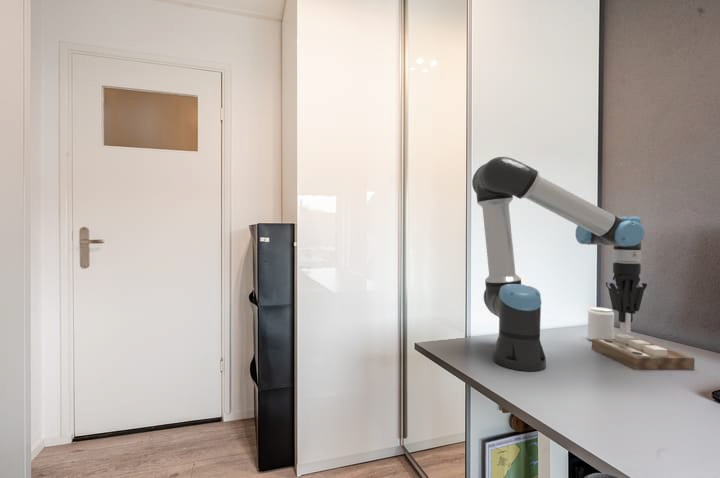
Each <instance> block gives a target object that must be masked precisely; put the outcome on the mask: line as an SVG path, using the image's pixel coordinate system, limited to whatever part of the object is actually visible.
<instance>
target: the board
mask: <svg viewBox="0 0 720 478" xmlns="http://www.w3.org/2000/svg"><path fill="white" fill-rule="evenodd" d="M635 340H642V341H645V342H648V343H651V345H656V346H659V347H661V348H664V349H667V357H654V356H651V355H649V354H646V353H644V352H643V350H637V349H634V348H632V347H629V346H628V344H622V343H619V342H617V341H615V338H614V339H592V340H591V350H593V351H595V352H597V353H599V354H601V355H604V356H606V357H608V358H609V359H612V360H614V361H616V362H618V363H620V364H622V365H624V366H626V367H628V368H631V369H632V370H634V371H666V370H667V371H668V370H669V371H670V370H671V371H673V370H674V371H675V370H676V371H682V370H683V371H687V370H688V371H689V370H690V371H691V370H693V371H694V370H695V357H693V356H690V355H687V354H685V353H682V352H679V351H676V350H673V349H672V348H668V347H665V346H662V345H660V344H657V343H655V342H652V341H649V340H646V339H643V338H635Z"/></svg>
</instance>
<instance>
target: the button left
mask: <svg viewBox="0 0 720 478" xmlns="http://www.w3.org/2000/svg"><path fill="white" fill-rule="evenodd" d="M614 339H615V341H617V342H619V343H622V344H628V340H635V339H636V337H634V336H631V335H628V334H627V333H625V334H619V333H618V334H615V333H614Z"/></svg>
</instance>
